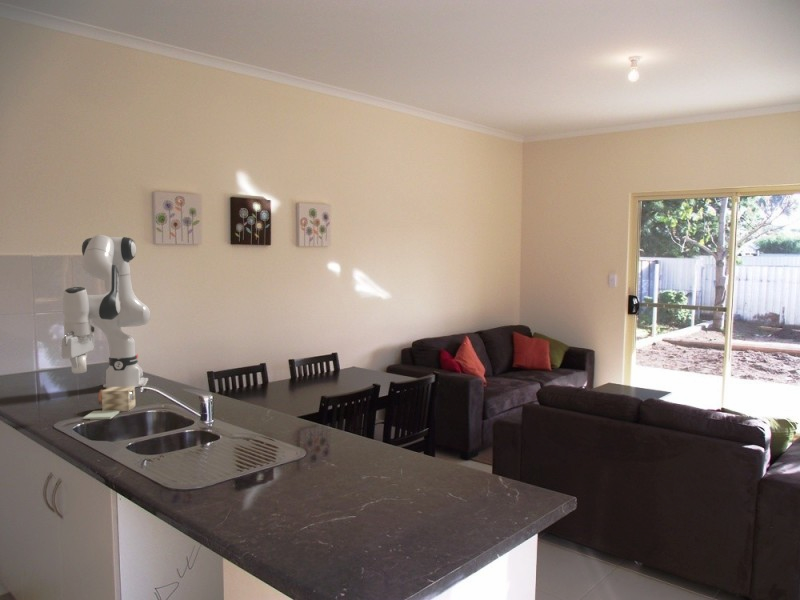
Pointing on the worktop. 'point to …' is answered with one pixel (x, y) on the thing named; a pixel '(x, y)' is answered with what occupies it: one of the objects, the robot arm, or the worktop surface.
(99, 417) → the pad
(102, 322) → the robot arm
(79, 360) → the spacer
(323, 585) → the worktop surface
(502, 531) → the worktop surface
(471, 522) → the worktop surface
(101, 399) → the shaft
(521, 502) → the worktop surface
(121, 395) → the bearing block
